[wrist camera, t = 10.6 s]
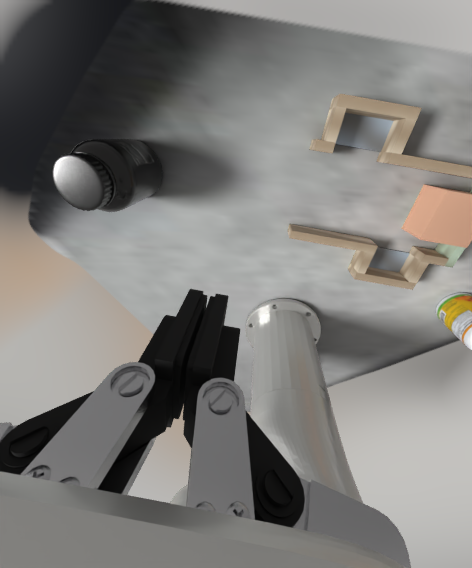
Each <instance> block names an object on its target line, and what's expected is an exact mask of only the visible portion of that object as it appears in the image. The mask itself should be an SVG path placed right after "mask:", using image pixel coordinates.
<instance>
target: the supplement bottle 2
mask: <svg viewBox="0 0 472 568" xmlns="http://www.w3.org/2000/svg"><path fill="white" fill-rule="evenodd" d="M436 315H437V317H438V318H439V319H440V321H441V322H442V323H443V324H444V325H445V326H446V327H447V328H448V329H449V330H450V331H452V332H453V333H454V334H455V335H456V336H457V337H458V338H459V339H460V340H461V341H462V342H463V343H464V344H465V345H466V346H467V347H468V348H469V349H470V350H472V295H471V294H468V293H455V294H452V295H449V296H447V297H445V298H444V299H443V300H442V301H441V302H440V303H439V304H438V306H437V308H436Z"/></svg>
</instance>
